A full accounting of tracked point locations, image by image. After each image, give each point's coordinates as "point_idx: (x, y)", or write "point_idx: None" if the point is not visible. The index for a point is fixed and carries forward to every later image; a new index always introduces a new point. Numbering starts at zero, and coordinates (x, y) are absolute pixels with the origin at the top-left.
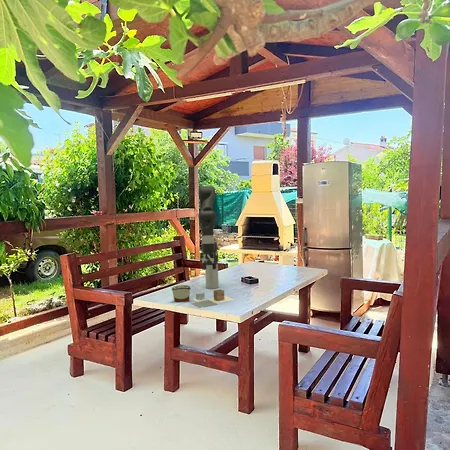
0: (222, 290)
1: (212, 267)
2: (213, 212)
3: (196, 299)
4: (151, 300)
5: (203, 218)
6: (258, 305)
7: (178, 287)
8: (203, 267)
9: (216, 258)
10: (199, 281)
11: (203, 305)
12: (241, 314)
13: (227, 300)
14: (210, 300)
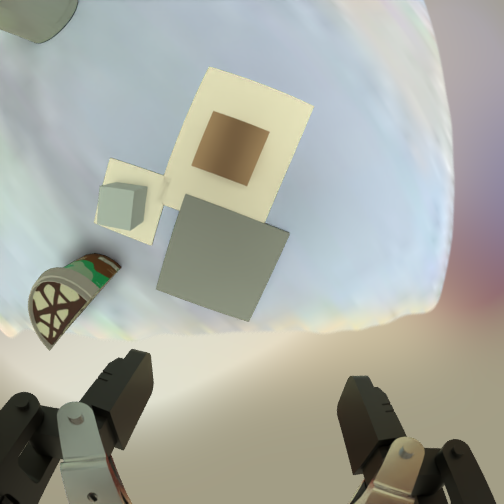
0: (256, 134)
1: (342, 428)
2: None
3: None
4: (15, 313)
5: None
6: (450, 154)
7: (43, 313)
8: (139, 405)
9: (452, 498)
10: None
11: (239, 291)
12: (438, 287)
13: (288, 140)
14: (196, 190)
